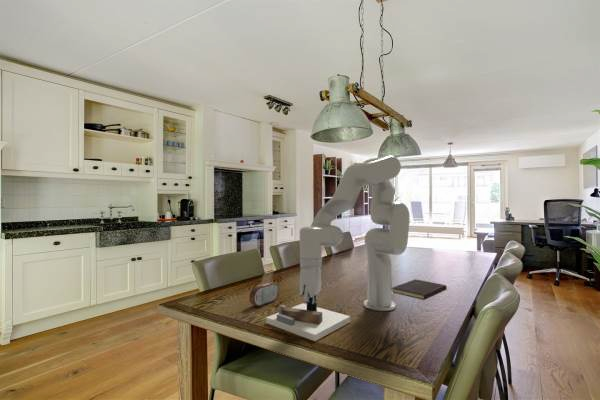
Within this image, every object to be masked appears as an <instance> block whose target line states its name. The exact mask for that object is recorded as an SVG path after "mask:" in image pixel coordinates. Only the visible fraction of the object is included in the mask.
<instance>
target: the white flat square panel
mask: <svg viewBox="0 0 600 400" xmlns="http://www.w3.org/2000/svg"><path fill="white" fill-rule="evenodd" d="M291 308H296V309H303V310H307V304H306V303H305V302H303V303H300V304H297V305H295V306H292V307H291ZM317 312H322V322H321V323H320V324H314V323H308V322H302V321H296V320H295V319H294V318H291V317H288V316H285V315H282V314H279V312H277V313H274V314H271V315H269V316H266V318H265V320H266V321H265V323H266V324H268V325H271V326H273V327H275V328H278V329H280V330H284V331H287V332H289V333H292V334H295V335H297V336H300V337H302V338H304V339H308V340H311V341H312V342H317V341H318V340H320V339H322V338H323V337H325V336H327V335H329V334H331V333H334V332H335V331H337V330H338V329H340V328H342V327H344V326H346V325H347V324H349V323H351V316H350V315H347V314H343V313H340V312H337V311H332V310H329V309H326V308H325V309H324V308H323V307H318V306H317Z"/></svg>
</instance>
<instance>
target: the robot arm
mask: <svg viewBox="0 0 600 400" xmlns="http://www.w3.org/2000/svg"><path fill="white" fill-rule="evenodd" d="M401 165H402V164H401V161H400V160H399V158H397V157H396V156H393V155H386V156H380V157H373V158H369V159H366V160H365V161H363V162H362V163H361V162H360V163H355V164H351V165H349V166H347V168H346V169H345V171H344V173H343V175H342V177H341V179H340V182H339V183H338V185H337V188H336V189H335V191H334V193H333V196H332V197H331V198H330V199H329V200H328V201H327V202H326V203H325V204H324V205H323V206H322V207H321V208H320V209H318V212H317V213H316V215H315V216H314V218H313V220H312V222H311V224H310V226H303V227H301V228H300V230H299V263H300V264H299V267H300V269H299V271H300V272H299V285H298V287H299V288H298V293H299V297H303V296H304V297H303V302H304V303H305V304H307V310H310V311H317V307H318V306H317V305H318V294H319V293H320V292H321V290H322V271H321V268H322V264H323V263H322V259H323V257H322V247H337V246H339V245H340V244H341V243H342V242H343V241H344V231H343V230H342V229H341V228H340V227H339V226H336V225H333V224H332V225H331V223H332V222H334V220H335V218H337V217H338V216H340V215H341V214H343V213H345V212H347V211H349V210H350V209H353V208H354V206H355V205H356V202H357V200H358V198H359V195H360V194H361V190H362V188H363V187H364V186H365V187H367V186H370V187H371V191H372V192H371V193H372V195H371V206H370V219H371V222H372V223H374V224H376V225H380V226H389V228H383V227H382V228H380V227H374V228H370V229H368V231H367V232H366V233H365V236H364V245H365V251H366V258H367V261H366V262H367V263H366V264H367V268H366V269H367V272H366V273H367V276H366V277H367V279H366V280H367V299H365V300H364V301H363V306H364V307H365V308H367V309H369V310H373V311H376V312H377V311H378V312H388V311H393V310H394V309H396V305H397V304H396V302H394V301H393V300H392V298H393V297H395V292H392V288H393V287H392V279H393V278H392V259H391V256H390V255H394V256H395V255H396V256H398V255H399V256H400V255H402V254H404V253H405V252H406V249H407V246H408V243H409V232H410V230H409V229H410V211H409V207H408V206H407V205H406V204H405V203H404V202H401V201H394V187H393V184H392V183H391V181H390V180H393V179H394V178H396V177H397V176H398V175H399V174H400V172H401V168H402V166H401Z"/></svg>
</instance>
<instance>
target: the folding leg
mask: <svg viewBox="0 0 600 400" xmlns="http://www.w3.org/2000/svg"><path fill="white" fill-rule="evenodd" d="M278 313H279V314H282V315H285V316H288V317H291V318H294V319H295V320H296V321H302V322H308V323H314V324H320V323H321V322H322V312H317V311H310V310H303V309H296V308H292V307H288V306H287V305H284V304H280V305H278Z"/></svg>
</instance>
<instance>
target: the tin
mask: <svg viewBox="0 0 600 400" xmlns="http://www.w3.org/2000/svg"><path fill="white" fill-rule="evenodd" d="M278 296H279V286H278V284H277V283H276V282H273V281H266V282H264V283H260V284H259V283H258V284H256V285H255V286H253V288H252V289H251V290H250V293H249V297H248V298H249V302H250V304H251V306H252V305H253V306H256V307H261V306H264V305H268V304H270V303H272V302H274V301H276V299H278Z"/></svg>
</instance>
